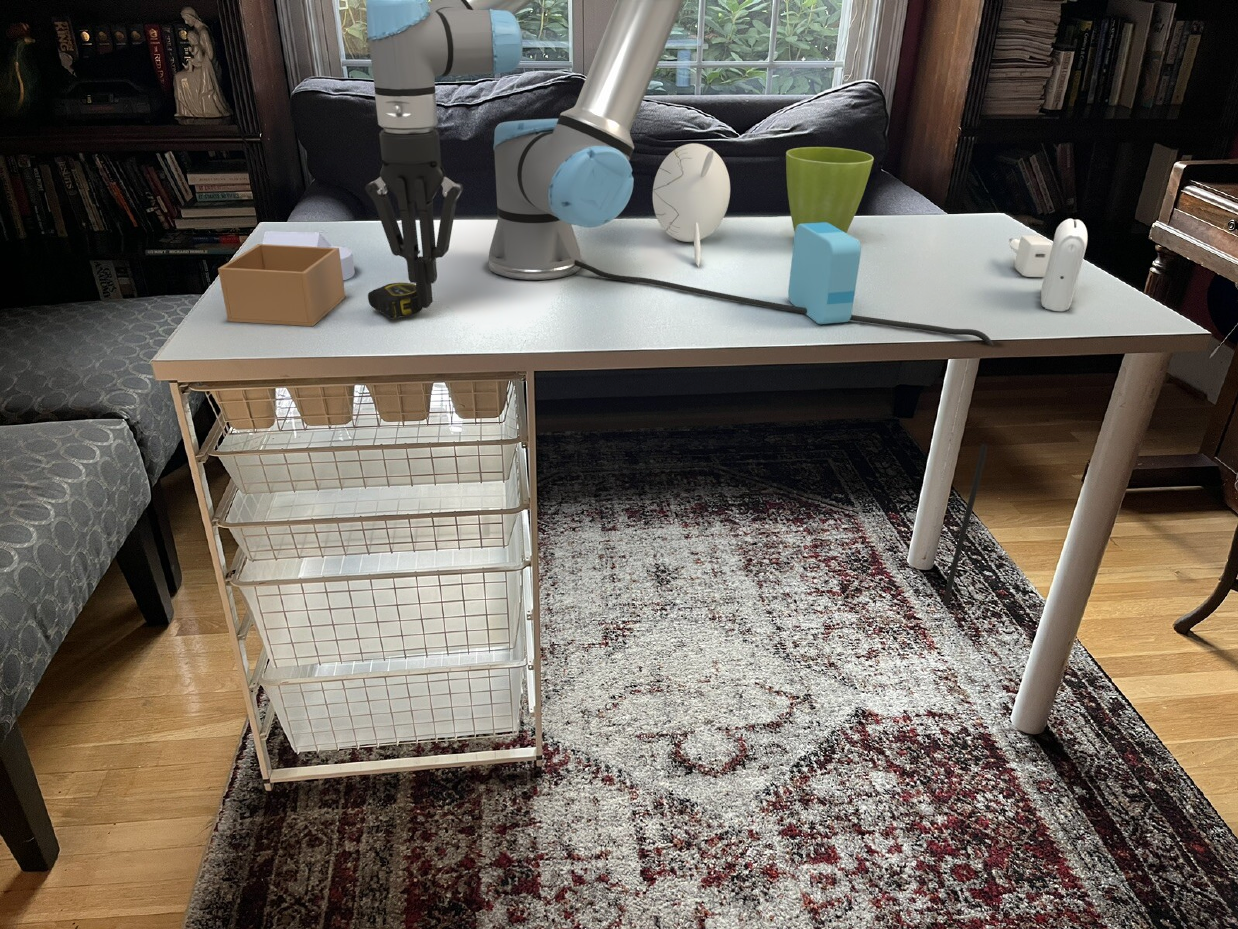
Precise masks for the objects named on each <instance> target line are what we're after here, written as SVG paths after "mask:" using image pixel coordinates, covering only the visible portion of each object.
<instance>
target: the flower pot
mask: <svg viewBox="0 0 1238 929" xmlns="http://www.w3.org/2000/svg"><path fill="white" fill-rule="evenodd" d="M874 158H875V157H874V156H873V155H872V154H869V153H867V152H864V151H860V150H854V149H849V148H843V147H842V148H841V147H829V146H805V147H796V148H795V147H794V148H791V149H788V150H787V151H785V165H786V166H785V168H786V170H785V171H786V173H785V174H786V188H787V198H788V206H789V211H790V217H791V222H792V227H793V228H792V229H793V231H794V234H795V229H796V227H797V226H798V225H799V224H805V223H823V222H827V223H829V224H831V225H833V226H834V227H836V228H838V229H840V230H841V231H843V232H845V233H847V234H848V231H849V228H850V227H851V224H852V223H853V221H854V218H855V216H856V213H857V211H858V209H859V206H860V203H861V201H862V199H863V196H864V193H865V191H866V190H865V189H866V186H867V183H868V180H869V178H870V174H871V172H872V171H871V170H872V167H873V164H874V160H875V159H874Z"/></svg>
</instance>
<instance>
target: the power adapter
mask: <svg viewBox="0 0 1238 929" xmlns="http://www.w3.org/2000/svg"><path fill="white" fill-rule="evenodd" d="M1008 242H1009V245H1008V246H1009V248H1010V249H1011V251H1013V253H1015V254H1016V255H1015V259H1014V269H1015V270H1016V271H1017V272H1018V273H1019V274H1020V275H1022V276H1023V277H1027V278H1044V277H1045V273H1046V269H1047V265H1048V261H1049V257H1050V253H1051V249H1052V245H1053V242H1051V241H1049V240H1048V239H1047V238H1046V237H1045V236H1042V235H1035V234H1034V235H1033V234H1032V235H1031V234H1025V235H1022V236H1021V237H1020V239H1013V238H1012V237H1011V238H1009V239H1008Z"/></svg>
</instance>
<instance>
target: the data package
mask: <svg viewBox="0 0 1238 929" xmlns="http://www.w3.org/2000/svg"><path fill="white" fill-rule="evenodd" d="M792 245H793V246H792V256H791V262H790V264H791V265H790V272H789V281H788V289H787V290H788V291H787V292H788V293H787V294H788V295H787V296H788V300H789V301H790V303H791V304H792V306H797V307H803V308H806V309H807V313H806V314H805V315H806V316H807V317H809V318H810V319H811V320H813V321H814V322H815V323H816V324H818V325H827V324H840V323H841V324H842V323H848V322H849V321H851V320H850V318H851V315H853V308H854V301H855V294H856V287H857V279H858V274H859V268H860V261H861V256H862V255H861V254H862V247H861V243H860V241H859V240H858V239H857V238H856V237H854V236H852V235H850V234H849V233H848V232H847V233H845V232H843V231H841V230H840V229H838V228H836V227H834V226H833V225H831V224H829V223H827V222H823V223H805V224H799V225H798V226H797V227H796V229H795V233H794V237H793V244H792Z"/></svg>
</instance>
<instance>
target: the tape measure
mask: <svg viewBox="0 0 1238 929" xmlns="http://www.w3.org/2000/svg"><path fill="white" fill-rule="evenodd" d="M367 300H368V304H369V306H370V307H371V308H372V309H374V310H375V311H377V312H380V313H382V314H383V315H384V316H386V317H387V318H389V319H391V320H396V319H399V318H401V317H403V318H404V317H410V316H414V315H416V314H419V313H420V312H422V310H423V308H418V300H417V290H416V284H415V283H410V282H392V283H387V284H384V285H382V286H380V287H377V288H375V289H373V290H370V291H369V292H368V294H367Z"/></svg>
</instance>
